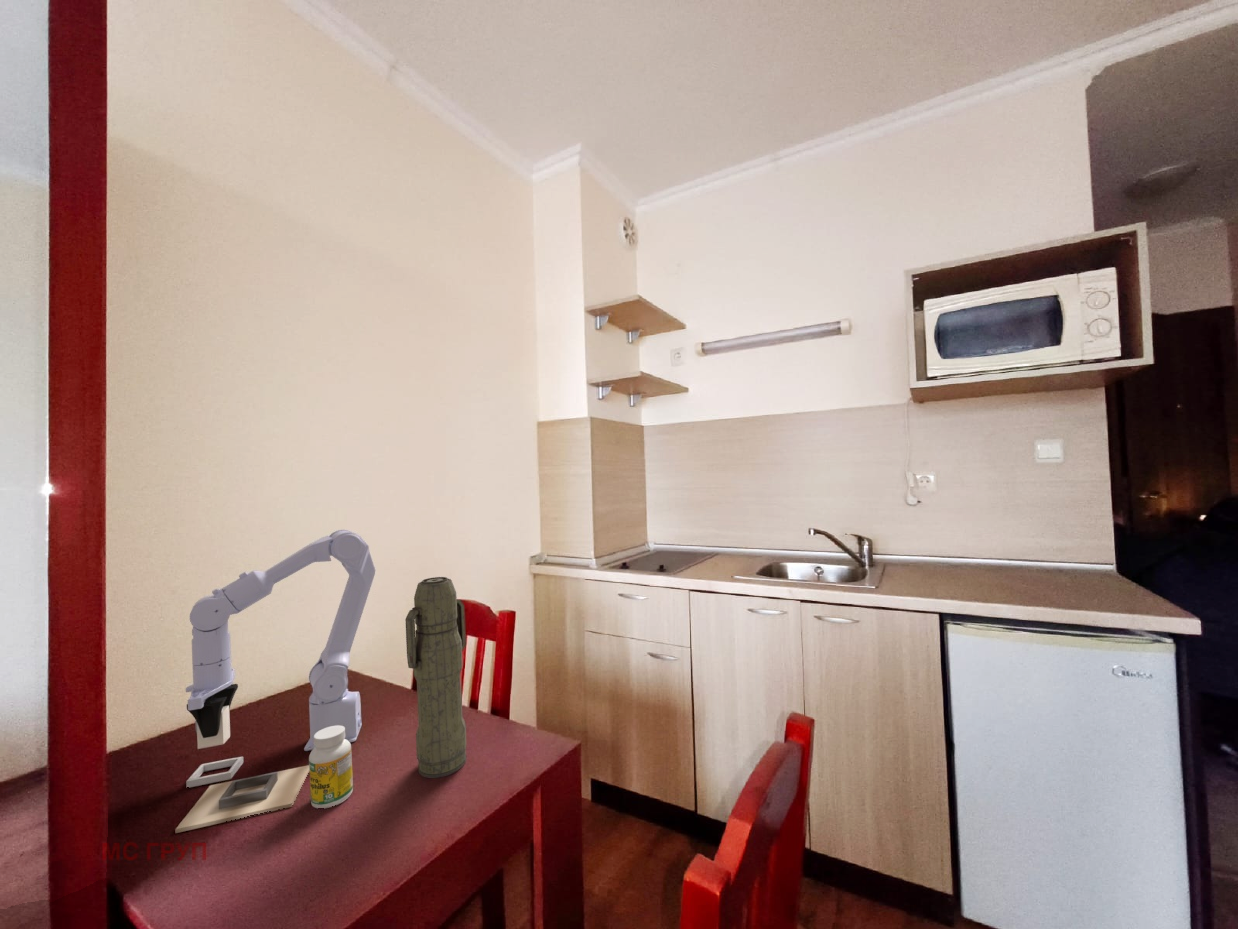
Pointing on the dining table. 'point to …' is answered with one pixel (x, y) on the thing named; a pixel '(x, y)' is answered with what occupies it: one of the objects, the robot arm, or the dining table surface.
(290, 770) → the port board
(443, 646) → the thermos
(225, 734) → the plug
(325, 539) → the robot arm
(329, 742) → the supplement bottle
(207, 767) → the white picture frame
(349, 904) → the dining table surface
